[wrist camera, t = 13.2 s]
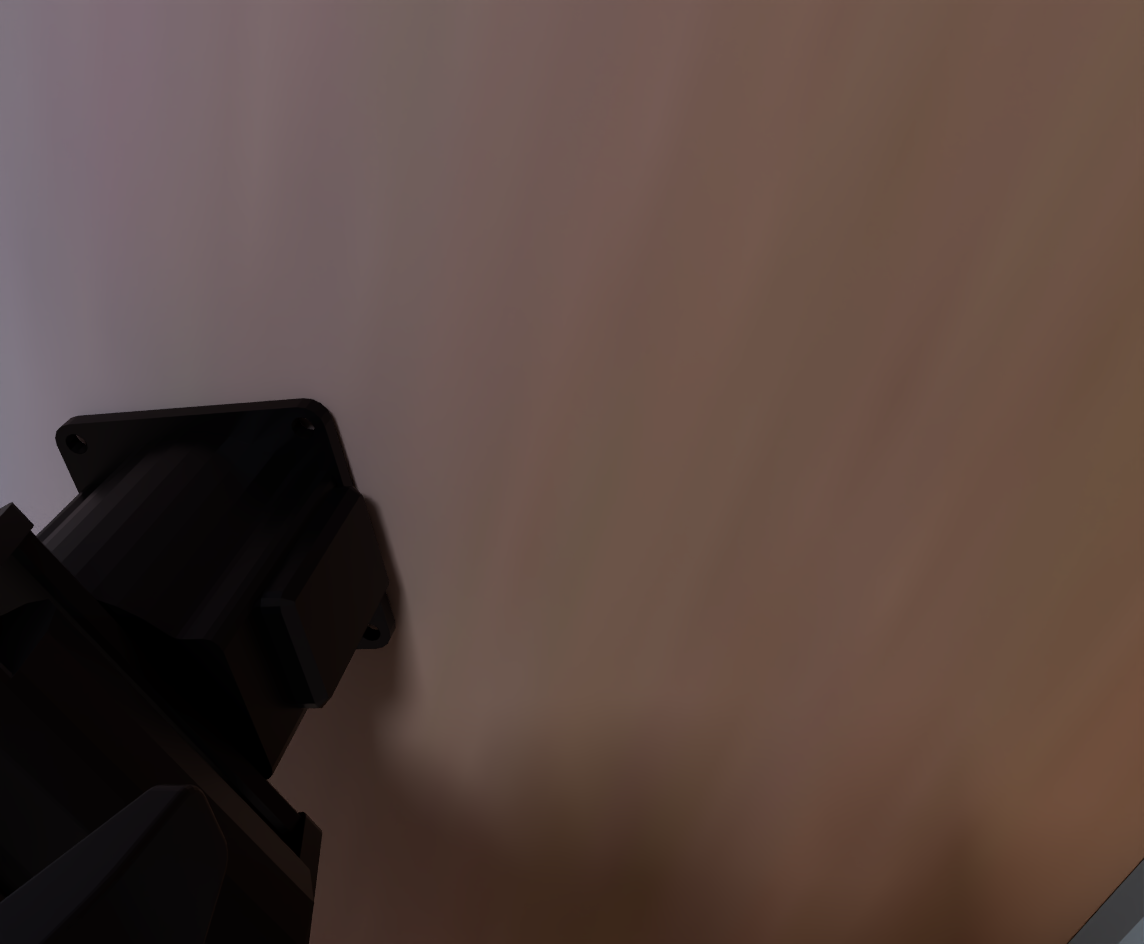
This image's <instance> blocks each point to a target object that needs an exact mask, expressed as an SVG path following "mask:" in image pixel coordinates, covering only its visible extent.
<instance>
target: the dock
mask: <svg viewBox="0 0 1144 944" xmlns="http://www.w3.org/2000/svg"><path fill="white" fill-rule="evenodd" d="M1068 944H1144V860H1143V861H1142V862H1141V863H1140V864H1139V865H1138V866H1137V867H1136V869H1135V870H1134V871H1133V872H1132V873H1131V874H1130V875H1129V876H1128V877H1127V879H1126V880H1125V881H1124V882H1123V883H1122V884H1121V885H1120V886H1119V887H1118V889H1117V890H1116V891H1115V892H1114V893H1113V894H1112V895H1111V896H1110V897H1109V899H1108V900H1107V901H1106V902H1105V903H1104V904H1103V905H1102V906H1101V908H1100V909H1099V910H1098V911H1097V912H1096V913H1095V914H1094V915H1093V916H1092V918H1091V919H1090V920H1089V921H1088V922H1087V923H1086V924H1085V925H1084V926H1083V928H1082V929H1081V930H1080V931H1079V932H1078V933H1077V934H1076V935H1075V936H1074V938H1073V939H1072V940H1071V941H1070V942H1069V943H1068Z"/></svg>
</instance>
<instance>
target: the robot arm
mask: <svg viewBox="0 0 1144 944" xmlns="http://www.w3.org/2000/svg"><path fill="white" fill-rule="evenodd" d="M299 417H301V418H306V419H308V420H309V421H311V422H312V424H313V426H314V427H315V429H314V430H313V429H307V428H306V427H304V426H303V425H302V424H301V422H300V421H299ZM76 435H79V436H80V437H82V438H83V439H84V440H85V442H86V443H87V445H86V444H84V443H82V442H81V441H79V439H78V438H77V436H76ZM55 439H56V443H57V446H58V449H59V451H60V453H61V455H62V457H63V459H64V462H65V464H66V466H67V468H68V470H69V473H70V475H71V477H72V479H73V481H74V483H75V486H76V488H77V490H78V492H79V494H78V495H77V496H76V497H75V498H74V499H73V500H72V501H71V502H70V503H69V504H68V505H67V506H66V507H65V508H64V509H63V510H62V511H61V512H60V513H59V514H58V515H57V516H56V517H55V518H54V519H53V520H52V521H51V522H50V523H49V524H48V525H47V526H46V527H45V528H44V529H43V530H42V531H41V532H39V533H38V534H37V535H36V536H35V535H34V534H33V532H32V531H31V529H32V528H33V526H34V525H33V524H32V523H31V522H30V520H29V519H28V518H27V517H26V516H25V515H24V514H23V513H22V512H21V511H20V510H19V509H18V508H17V507H16V506H15V505H14V503H13V502H11V503H9V504H7V505H5V506H4V507H2V508H0V944H309V938H310V930H311V921H312V913H313V906H314V897H315V888H316V880H317V872H318V864H319V855H320V847H321V839H322V830H321V829H320V828H319V827H318V826H317V825H316V824H315V823H314V822H313V821H312V820H311V819H310V818H309V816H308V815H307V814H306V813H304V812H299V813H297V811H296V810H295V809H294V808H293V807H292V806H291V805H290V804H289V803H288V802H287V801H286V800H285V799H284V798H283V797H282V796H281V795H280V794H279V792H278V791H277V790H276V789H275V788H274V787H273V786H272V785H271V784H270V783H269V782H268V781H267V780H266V779H269V778H270V777H271V776H272V775H273V773H274V771H275V769H276V767H277V765H278V763H279V761H280V760H281V758H282V756H283V754H284V752H285V750H286V748H287V746H288V745H289V743H290V741H291V739H292V737H293V735H294V733H295V731H296V729H297V728H298V726H299V724H300V722H301V720H302V718H303V716H304V714H305V713H306V711H307V709H308V708H322V707H323V706H324V705H325V704H326V703H327V701H328V700H329V699H330V698H331V697H332V695H333V693H334V691H335V689H336V687H337V685H338V683H339V681H340V679H341V677H342V675H343V673H344V671H345V669H346V667H347V665H348V664H349V662H350V660H351V658H352V656H353V654H354V652H355V650H356V649H376V648H382V647H384V646H385V645H387V644H388V642H389V640H390V638H391V636H392V634H393V632H394V629H395V619H394V616H393V613H392V610H391V607H390V603H389V600H388V597H387V594H386V589H387V587H388V585H389V579H388V576H387V573H386V570H385V566H384V563H383V560H382V557H381V553H380V550H379V547H378V544H377V540H376V537H375V534H374V531H373V527H372V524H371V521H370V518H369V514H368V511H367V508H366V505H365V501H364V498H363V496H362V494H361V493H360V492H359V491H358V490H357V489H356V488H355V487H353V484H352V481H351V478H350V475H349V471H348V468H347V465H346V462H345V459H344V455H343V452H342V449H341V446H340V443H339V439H338V436H337V433H336V430H335V426H334V423H333V420H332V417H331V415H330V413H329V411H328V410H327V409H326V408H325V407H324V406H323V405H322V404H321V403H319V402H317V401H315V400H313V399H305V398H301V399H288V400H275V401H263V402H250V403H237V404H224V405H211V406H198V407H185V408H173V409H160V410H147V411H134V412H121V413H108V414H95V415H83V416H76V417H72V418H70V419H69V420H68V421H67V422H66V423H64V424H63V425H62V426H61V427H60V428H59V429H58V430H57V431H56V437H55ZM368 624H372V625H374V626H376V627H377V628H378V629H379V630H375V629H372V628H370V627H369V626H368Z"/></svg>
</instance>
